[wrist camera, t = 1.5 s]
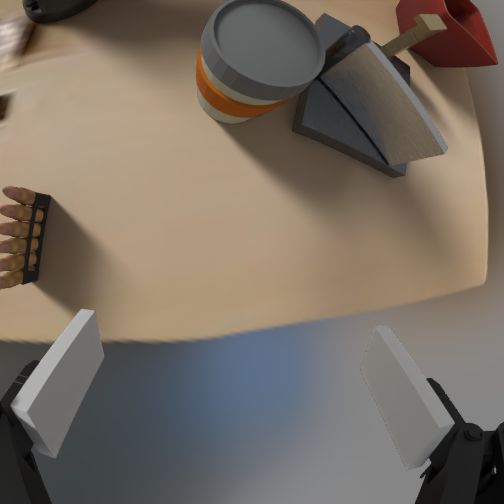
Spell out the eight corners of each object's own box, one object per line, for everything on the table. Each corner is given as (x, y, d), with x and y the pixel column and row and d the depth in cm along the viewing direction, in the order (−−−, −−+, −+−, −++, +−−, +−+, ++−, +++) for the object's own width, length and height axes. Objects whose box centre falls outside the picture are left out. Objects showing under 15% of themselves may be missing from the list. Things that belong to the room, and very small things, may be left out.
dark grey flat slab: (292, 130, 41) (301, 124, 38) (315, 21, 42) (324, 12, 39) (393, 177, 48) (405, 175, 45) (400, 71, 48) (409, 66, 45)
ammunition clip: (39, 193, 31) (-2, 178, 19) (51, 195, 31) (13, 180, 20) (26, 277, 31) (-18, 294, 19) (37, 280, 31) (-3, 299, 20)
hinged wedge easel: (305, 66, 38) (348, 29, 27) (316, 58, 38) (358, 22, 28) (389, 168, 43) (443, 156, 33) (396, 157, 44) (449, 145, 33)
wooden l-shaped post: (358, 53, 45) (419, 14, 29) (380, 48, 46) (437, 14, 31) (367, 67, 45) (430, 30, 30) (388, 61, 47) (447, 29, 31)
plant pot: (436, 31, 53) (479, 9, 37) (446, 84, 54) (499, 66, 38) (383, -6, 47) (427, -38, 31) (391, 46, 47) (448, 14, 31)
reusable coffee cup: (227, 44, 37) (264, -20, 23) (289, 100, 41) (347, 53, 27) (164, 93, 35) (177, 26, 21) (232, 155, 39) (279, 115, 24)
